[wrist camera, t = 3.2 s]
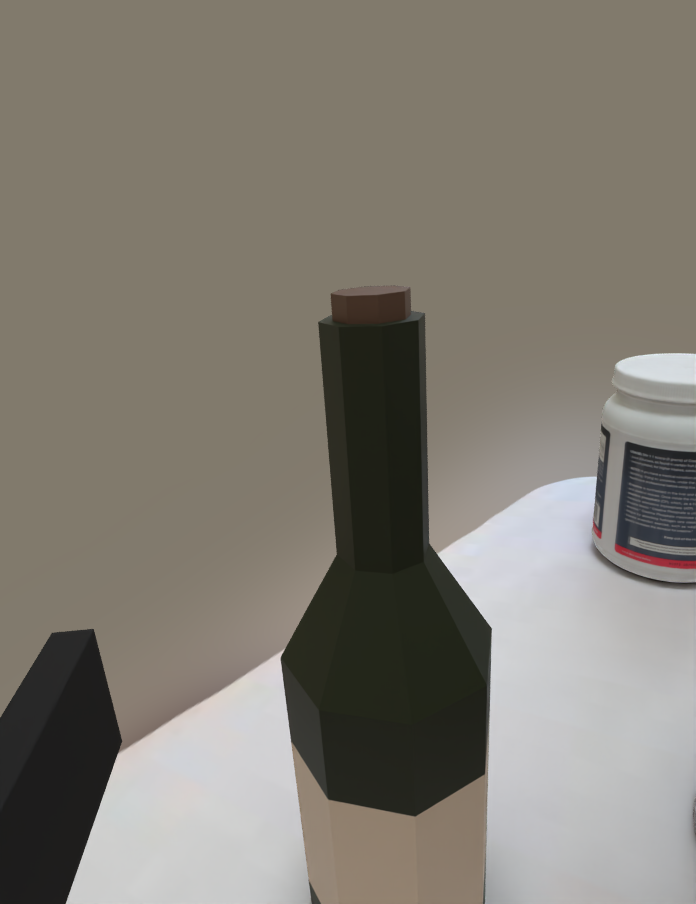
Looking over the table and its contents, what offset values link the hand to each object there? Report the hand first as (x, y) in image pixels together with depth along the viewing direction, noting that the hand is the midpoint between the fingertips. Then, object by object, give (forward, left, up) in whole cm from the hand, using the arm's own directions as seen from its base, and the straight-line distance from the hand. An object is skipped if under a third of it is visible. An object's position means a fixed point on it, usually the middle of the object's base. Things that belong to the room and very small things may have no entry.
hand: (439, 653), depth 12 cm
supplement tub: (-46, -19, -24) cm, 55 cm away
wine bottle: (-5, -8, -24) cm, 26 cm away
